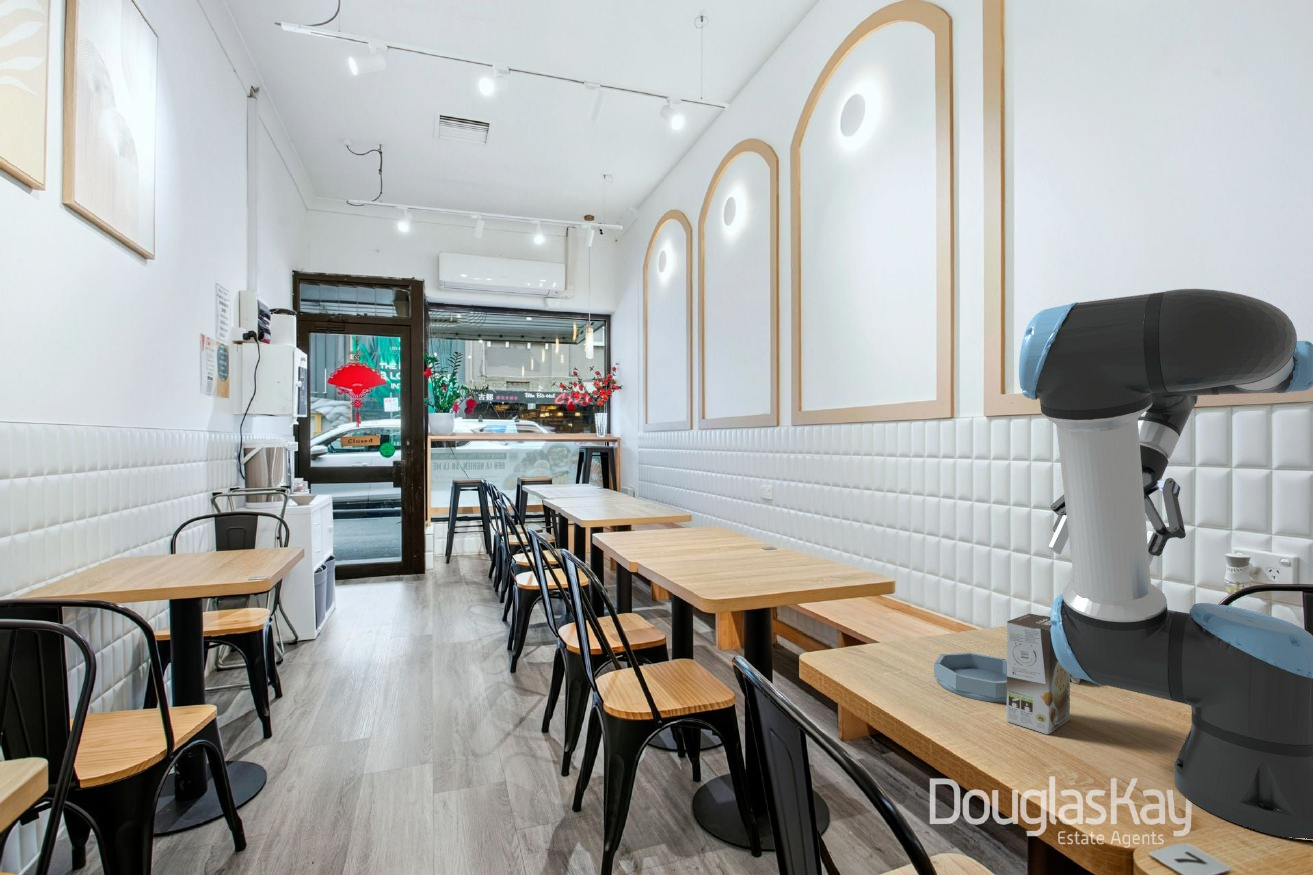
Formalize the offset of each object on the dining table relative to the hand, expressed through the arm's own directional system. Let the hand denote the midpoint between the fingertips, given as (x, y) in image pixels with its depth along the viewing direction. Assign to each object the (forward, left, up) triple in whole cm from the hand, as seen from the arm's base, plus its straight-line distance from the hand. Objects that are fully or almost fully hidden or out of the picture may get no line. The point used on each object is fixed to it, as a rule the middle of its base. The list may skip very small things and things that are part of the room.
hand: (1094, 560), depth 105 cm
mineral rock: (+15, -11, -25) cm, 31 cm away
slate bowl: (+12, +12, -25) cm, 30 cm away
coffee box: (-2, +13, -25) cm, 28 cm away
